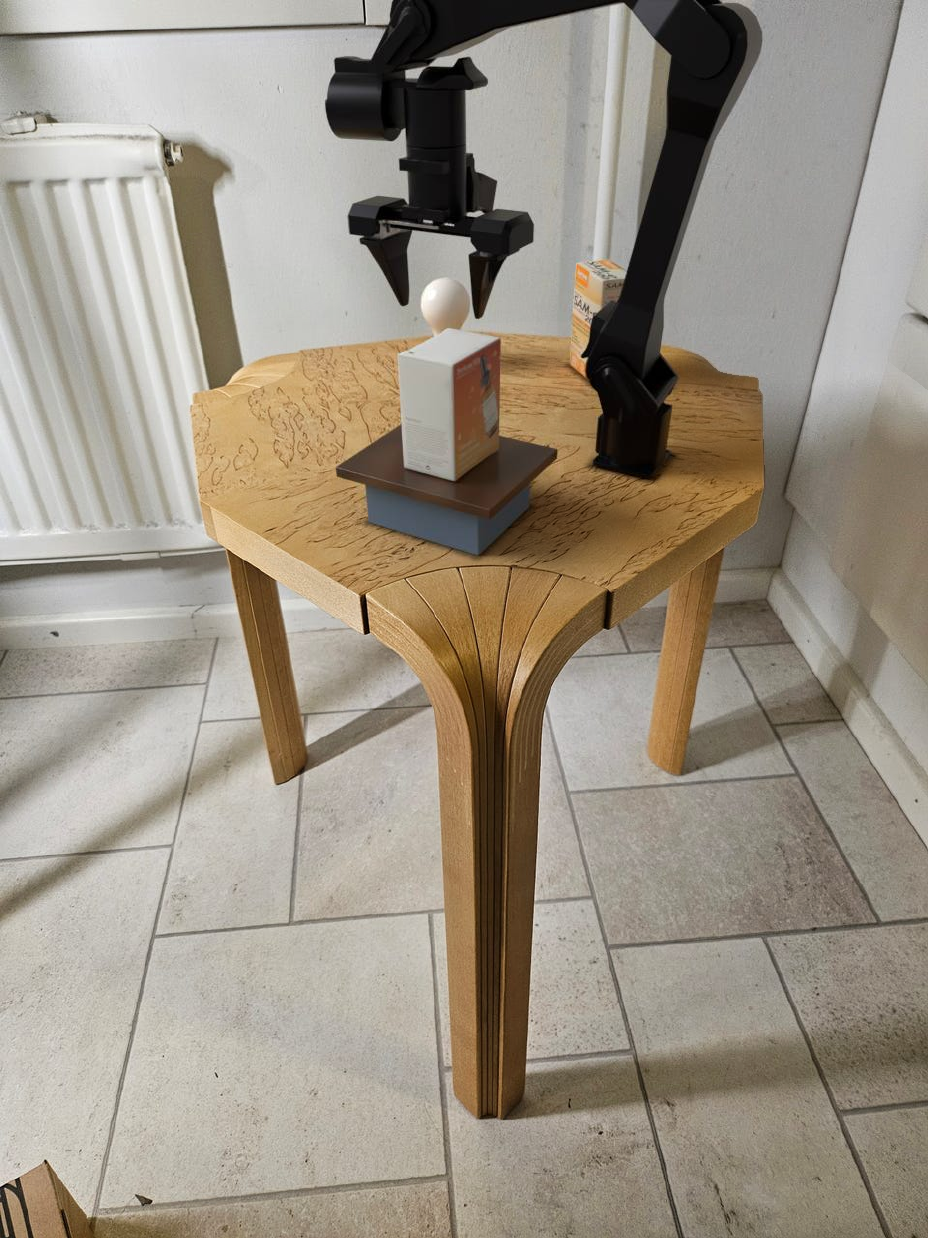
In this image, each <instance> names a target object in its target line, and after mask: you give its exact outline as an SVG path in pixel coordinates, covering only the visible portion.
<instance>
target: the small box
mask: <svg viewBox="0 0 928 1238" xmlns="http://www.w3.org/2000/svg"><path fill="white" fill-rule="evenodd" d="M501 340H502V339H501V338H500V337H497V336H493V335H488V334H483V333H477V332H473V331H467V330H463V329H460V330H457V329H452V328H447V329H446V330H444V331H443V332H442V333H440V334H438V335H436V336H434V335H433V336H432V337H430V338H429V339H427V340H425V341H423V342H421V343H419V344H416V345H415V346H413V347H411V348H409V349H407V350H404V351H402V352H399V353H397V369H398V370H397V371H398V385H399V386H398V387H399V403H400V404H399V405H400V420H401V421H400V422H401V423H400V424H402V439H403V456H404V467H405V468H407V469H411V470H414V471H418V472H422V473H426V474H429V475H433V476H436V477H440V478H444V479H447V480H451V481H456V480H458V479H459V478H460V477H461V476H462V475H463V474H465V473H466V472H467V471H469V470H470V469H471V468H473V467H474V466H476V465H477V464H478V463H480V462H481V461H483V460H484V459H485V458H487V457H488V456H489V455H491V454H493V453H495V452H496V451H497V450H498V449H499V436H500V413H501V412H500V411H501V410H500V409H501V408H500V407H501V405H500V403H501V400H500V399H501V355H502V353H501V345H502V341H501Z"/></svg>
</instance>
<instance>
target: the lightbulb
mask: <svg viewBox="0 0 928 1238" xmlns="http://www.w3.org/2000/svg"><path fill="white" fill-rule="evenodd" d="M420 311H421V315H422V316H423V318H424V320H425V321H426V323H427V325H429V327H430V329H431V331H432V335H433V337H434V336H436V335H438V334H440V333H442V332H443V331H444V330H446V329H447V328H452V329H457V330H462V327H463V325H464V324H465V322H466V321H467V318H468V317H469V315H470V311H471V298H470V295H469V292H468V290H467V289H466V287H465V285H463V283H461V282H460V281H458V280H457V279H455V278H452V277H447V276H446V277H445V276H444V277H439V278H436V279H434V280H432V281H430V282H429V283H428V284H427V286H425V288H424V289H423V292H422V294H421V297H420Z"/></svg>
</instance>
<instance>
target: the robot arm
mask: <svg viewBox="0 0 928 1238" xmlns="http://www.w3.org/2000/svg"><path fill="white" fill-rule="evenodd" d="M621 4H624V5H625V6H626V7H627V8H628V9H629V10H631V12H632V13H633V14H634V16H635V17H636V18H637V20H639V22H640V23H641V24H642V26H643V27H644V28H645V30H646V31H647V32H648V33H649V34H650V36H651V37H652V38H653V39H654V40H655V41H656V42H657V43H658V44H659V46H660V47H662V49H664V50H665V51H666V52H667V53H668V54H669V55H670V61H669V69H668V78H667V84H666V86H667V87H666V99H665V101H666V103H665V104H666V105H665V107H666V114H665V115H666V116H665V117H666V122H665V123H666V125H665V135H664V139H663V143H662V146H661V150H660V154H659V157H658V160H657V164H656V166H655V171H654V174H653V178H652V181H651V185H650V188H649V192H648V195H647V199H646V201H645V205H644V206H645V207H644V210H643V214H642V217H641V220H640V223H639V227H638V230H637V234H636V238H635V241H634V245H633V248H632V251H631V255H630V258H629V262H628V266H627V269H626V271H627V272H626V276H625V280H624V283H623V287H622V290H621V294H620V297H619V299H618V301H617V302H615V301H613V300H610V301H609V302H608V303H607V304H606V305H605V306H604V307H603V308H602V309H601V310H600V311H599V312H598V313H596V314H595V315H594V316H593V318H592V321H591V326H590V336H589V342H588V345H587V347H586V349H585V351H584V352H583V353H582V355H581V358H587V357H588V358H587V361H586V366H585V374H586V378H587V379H588V380H589V381H588V380H587V379H586V378H585V379H586V380H587V381H588V382H589V384H590V386H591V388H593V389H594V390H595V391H596V393H597V397H598V400H599V404H600V408H601V411H602V413H601V414H599V416H598V417H597V425H596V437H595V450H594V451H595V453H596V454H597V455H596V456H595V457H594V458H593V459H592V465H593V466H594V467H597V468H602V469H606V470H609V471H614V472H617V473H618V472H619V473H623V474H627V475H631V476H636V477H640V478H643V479H651V478H653V476H655V474H656V473H657V472H658V471H659V470H660V469H661V467H663V465H664V464H665V463H666V462H667V461H668V459H669V458H670V457H671V455H672V450H670V449H668V440H669V434H670V427H671V418H672V412H673V404H669V403H665V401H666V399H667V398H668V397H669V396H670V395H671V394H672V393H673V390H674V388H675V386H676V385H677V383H678V381H679V377H680V376H679V375H678V373H677V372H676V371H675V369H674V368H673V367H672V365H671V364H670V363H669V362H668V361H667V359H666V358H665V357H664V356H663V354H662V353H661V349H662V341H663V336H664V335H663V334H664V328H665V300H666V299H665V298H666V294H667V292H668V288H669V285H670V282H671V279H672V276H673V273H674V269H675V267H676V263H677V261H678V258H679V254H680V251H681V247H682V244H683V240H684V238H685V235H686V233H687V229H688V226H689V222H690V219H691V217H692V214H693V210H694V207H695V204H696V200H697V198H698V194H699V191H700V189H701V185H702V182H703V179H704V176H705V172H706V169H707V168H708V167H707V166H708V163H709V160H710V157H711V155H712V152H713V151H712V150H713V148H714V145H715V143H716V142H715V141H716V140H717V137H718V135H719V134H720V132H721V130H722V128H723V126H724V124H725V123H726V122H727V119H728V117H729V116H730V114H731V112H732V110H733V109H734V107H735V106H736V103H738V102H737V101H738V100H739V98H740V96H741V94H742V92H743V90H744V88H745V86H746V84H747V82H748V81H749V78H750V76H751V74H752V72H753V70H754V68H755V66H756V64H757V62H758V60H759V57H760V55H761V52H762V45H763V30H762V27H761V25H760V23H759V20H758V17H757V16H756V14H755V13H754V12H753V11H752V10H751V9H750V8H749V7H747V6H746V5H743V4H741V3H739V2H723V1H722V0H392V1H391V5H390V10H389V21H388V24H387V25H386V28H385V30H384V32H383V33H382V35H381V38H380V40H379V43H378V44H377V47H376V48H375V50H374V52H373V55H372V57H371V58H361V57H359V56H355V55H345V56H337V57H335V58H334V59H333V65H334V73H333V75H331V78H330V81H329V83H328V87H327V92H326V98H325V100H324V109H325V115H326V119H327V122H328V126H329V128H330V130H331V132H332V133H333V135H334V136H335V137H337V138H339V139H341V140H342V139H344V140H360V141H379V142H394V141H396V140H397V139H398V138H399V137H400V135H401V133H402V131H403V130H405V131H404V132H405V152H406V153H405V155H406V156H404V157H401V158H398V169H399V171H400V172H406V174H407V177H406V178H407V193H408V194H407V195H408V202H407V201H406V199H405V198H403V197H402V198H401V197H394V196H387V195H385V196H384V195H375V196H372V197H369V198H366V199H362V200H360V201H356V202H353V203H352V204H351V206H350V208H349V210H348V213H347V225H348V226H347V228H348V234H349V235H352V236H359V239H358V241H359V244H360V245H362V246H365V247H366V248H367V250H368V251H369V253H370V255H371V256H372V257H373V259H374V260H375V262H376V264H377V265H378V266H379V268H380V270H381V271H382V273H383V275H384V277H385V279H386V281H387V283H388V285H389V287H390V289H391V290H392V292H393V294H394V296H395V298H396V300H397V302H398V303H399V306H401V307H406V306H408V305H409V304H410V278H409V275H410V274H409V259H408V247H409V244H410V240H411V238H412V233H413V232H414V231H415V232H421V233H422V232H423V233H431V234H439V235H447V236H453V237H461V238H469V239H470V240H469V241H470V243H471V245H472V246H473V247H474V249H475V251H471V252H470V253H469V254H468V268H469V269H468V270H469V280H470V292H471V294H470V295H471V307H472V311H473V315H474V319H476V320H480V319H482V318H483V317H484V315H485V313H486V308H487V306H488V303H489V300H490V297H491V294H492V292H493V288H494V285H495V282H496V280H497V277H498V275H499V272H500V271H501V268H502V267H503V264H504V263H505V261H506V260H507V258H509V257H510V256H512V255H514V254H517V253H519V252H520V250H521V249H522V248H524V247H527V246H529V245H531V244H533V243H534V238H535V236H534V234H535V224H534V222H533V219H532V217H531V216H530V214H529V212H528V211H524V210H523V211H522V210H515V209H504V208H495V209H494V206H495V199H496V193H497V187H498V180H496V179H495V178H493V177H490V176H489V175H486V174H485V173H482V172H479V171H476V165H475V164H476V163H475V162H476V161H475V158H474V153H473V152H467V103H466V102H467V100H466V96H467V93H466V91H473V90H477V89H480V88H485V87H487V86H488V84H489V79H488V77H486V75H484V74H483V72H482V71H481V70H480V69H479V68H478V67H477V66H476V64H475V63H474V61H473V59H472V57H471V56H464V57H458V58H457V60H456V61H455V63H454V64H453V66H444V65H443V66H440V65H439V66H438V65H437V66H436V65H435V66H434V65H432V64H433V63H434V62H435V61H436V60H437V59H439V58H444V57H451V56H454V55H457V54H459V53H461V52H464V51H466V50H468V49H470V48H473V47H475V46H477V45H478V44H481V43H484V42H485V41H487V40H489V39H490V38H492V37H494V36H496V35H497V34H499V33H502V32H505V31H506V30H508V29H510V28H516V27H519V26H525V25H528V24H529V25H530V24H534V23H538V22H542V21H547V20H552V19H557V18H562V17H566V16H571V15H575V14H580V13H584V12H590V11H594V10H598V9H602V8H607V7H611V6H612V7H613V6H616V5H621ZM421 68H423V69H422V70H421V72H420V74H419V75H418V78H415V77H412V78H411V77H407V76H406V75H407V74H406V71H411V70H416V69H421ZM476 212H481V213H482V214H481V215H478V216H471V215H468V214H469V213H472V214H475V213H476ZM426 221H427V222H426ZM429 221H430V222H429Z"/></svg>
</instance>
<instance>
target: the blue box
mask: <svg viewBox="0 0 928 1238" xmlns="http://www.w3.org/2000/svg"><path fill="white" fill-rule="evenodd" d="M364 487H365V496H366V497H365V498H366V509H367V520H368V523H369V524H372V525H375V526H379V527H383V528H386V529H388V530H391V531H396V532H399V533H403V534H407V535H409V536H412V537H415V538H419V539H421V540H425V541H428V542H432V543H435V544H439V545H441V546H445V547H448V548H452V549H455V550H458V551H461V552H465V553H468V554H471V555H474V556H480V555H481V554H482V553H483V552H484V551H485V550H486V549H487V548H489V546H490V545H491V544H493V543H494V541H496V539H498V537H499V536H501V535H502V534H503V533H504V532H505V531H506V530H507V529H508V528H509V527H511V525H512V524H513V523H514V522H516V520H517V519H519V518H520V516H522V514H524V512H526V511H527V510H528V509H529V507H530V493H531V492H530V491H531V490H530V489H531V483H530V484H529V485H527V486H526V487H525V488H524V489H523V490H522V491H521V492H520V493H519V494H518V495H517V496H515V497H514V498H513V499H512V500H511V501H510V502H509V503H508V504H507V505H506V506H505V507H503V508H502V509H501V510H500V511H499V512H498V513H497V514H496V515H495V516H494V517H493V518H491V519H490V520H489V519H485V518H482V517H478V516H475V515H471V514H468V513H464V512H460V511H457V510H453V509H450V508H446V507H443V506H439V505H436V504H432V503H428V502H425V501H421V500H418V499H414V498H411V497H407V496H404V495H400V494H397V493H393V492H389V491H386V490H382V489H379V488H375V487H372V486H368V485H365V484H364Z"/></svg>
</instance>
